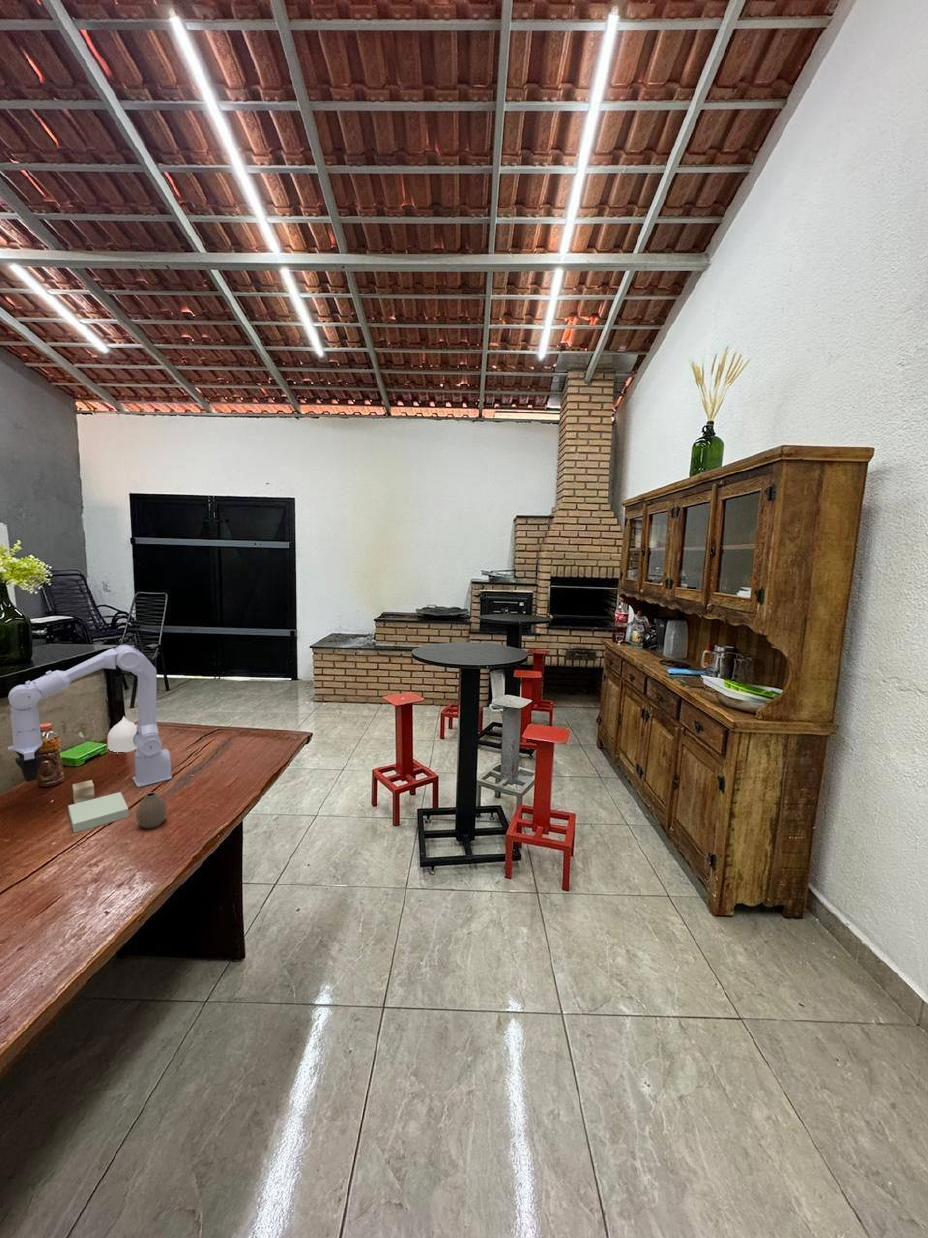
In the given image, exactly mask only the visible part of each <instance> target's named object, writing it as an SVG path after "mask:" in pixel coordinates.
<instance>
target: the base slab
mask: <svg viewBox="0 0 928 1238" xmlns="http://www.w3.org/2000/svg"><path fill="white" fill-rule="evenodd" d="M67 806H68V807H67V808H68V815H69V820H70V823H71V827H72V831H73V834H75V833H79V832H82V831H86V830H89V829H92V828H96V827H100V826H103V825H106V824H109V823H113V822H116V821H120V820H124V819H127V818H129V817H130V814H129V813H130V812H129V807H128V805H127V803H126V799H124V796H123V794H122V792H121V791H119V792H116V793H115V792H114V793H112V794H108V795H104V796H99V797H95V799H92V800H88V801H84V802H80V803H76V804H75V803H73V804H69V805H67Z"/></svg>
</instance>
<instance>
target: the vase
mask: <svg viewBox="0 0 928 1238" xmlns="http://www.w3.org/2000/svg"><path fill="white" fill-rule="evenodd" d="M167 811H168V810H167V804H166V802H165V800H164V799H162V798H161V797H160V796H159V795H157V793H156V792H153V791H152V792H148V793H146V794H145V795H144V798H143V799H141V802H140V803H139V804H138V806H137V809H136V812H135V813H136V815H135V817H136V820H137V823H138V825H139V826H141V827H142V828H144V829H154V828H156V827H159V826H160V825H161V824H162V823H163V822H164V821H165V819H166V816H167Z"/></svg>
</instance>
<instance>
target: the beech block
mask: <svg viewBox="0 0 928 1238" xmlns="http://www.w3.org/2000/svg"><path fill="white" fill-rule="evenodd" d="M72 796H73V804H76V803H80V802H84V801H88V800H92V799H95V798H96V797H95V796H96V795H95V785H94V783H93V779H91V780H86V781H81V782H77V783H73V784H72Z"/></svg>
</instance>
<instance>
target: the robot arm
mask: <svg viewBox="0 0 928 1238" xmlns="http://www.w3.org/2000/svg"><path fill="white" fill-rule="evenodd" d="M116 666H117V667H118V668H120V669H121V670H123V671H126V672H130V673H132V674H134V675H136V676H137V724H136V725H137V731H136V734H135V736H134V738H133V743H134V745H135V746H136V747H137V749H136V750H135V752H134V767H135V768H134V770H135V776H133V777H132V780H133V781H134V784H135V785H136V787H137V788H141V787H145V786H148V785H153V784H157V783H160V782H164V781H168V780H172V778H173V776H172V760H171V754H170V751H169V749H168V748H164V749H162V748H163V742H162V740H161V738H160V735H159V733H160V732H159V729H158V725H157V668H156V667H155V666H154V665H153V664H152V663H151V661H150V660H149V659H148V658H147V657H146V656H145V655H144V653H142V652H141V651H140V650H139V649H137V648H135V647H134V646H132V645H129V644H121V645H118V646H116V647H115V648H110V649H109V648H108V649H107V650H105V651H103V652H101V653H99V654H97V655H95V656H93V657H91V658H89V659H87V660H85V661H83V662H80V663H79V664H76V665H74V666H73V667H71V668H69V669H67V670H59V669H57V670H54V671H52V670H48V671H46V672H45V674H44V675H42V676H40V677H39V678H36V679H34V680H31V681H30V680H27V681H25V683H24V684H18V685H16V686H14V687H13V688H11V690H10V691H9V692H8V696H7V697H8V702H9V704H10V713H11V714H10V723H11V732H12V733H11V734H12V743H13V745H9V746H7V751H9V752H10V751H14V752H15V753H16V754H17V756H18V757H15V758H14V763H16V765H17V766H18V767H19V768H20V770H21V772H22V775H23V777H24V778H23V779H24V780H25V781H26V782H27V783H28V782H32V781H37V779H38V775H39V774H38V773H39V767H40V764H41V761H42V760H43V758H44V754H43V753H42V754H41V753H40V754H39V751H40V748H41V747H42V746H43V740H42V736H41V735H42V734H41V724H40V722H41V721H40V715H39V714H40V713H39V711H40V710H38V707H37V706H38V705H37V704H38V702H39V701H41V700H45V699H47V698H49V697H51V696H54V695H55V694H57V693H60V692H62V691H64V690H66V689H68V688H69V687H70V685H71V682H72V681H75V680H77V679H80V678H82V677H85V676H86V675H89V674H91V673H94V672H96V671H99V670H101V669H110V670H111V669H112V670H116V669H117V667H116Z"/></svg>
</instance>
